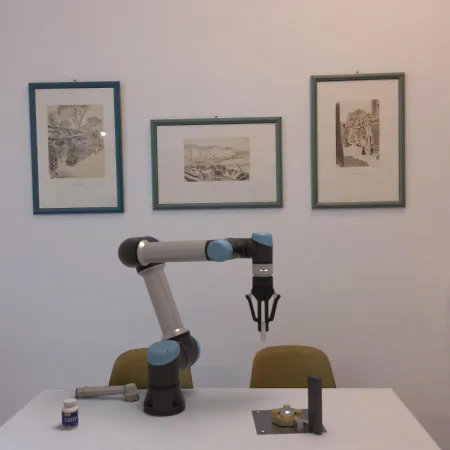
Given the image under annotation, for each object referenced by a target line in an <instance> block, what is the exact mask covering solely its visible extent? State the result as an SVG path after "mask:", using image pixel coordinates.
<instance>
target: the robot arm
mask: <svg viewBox="0 0 450 450" xmlns="http://www.w3.org/2000/svg"><path fill="white" fill-rule="evenodd" d="M273 243H274V242H273V235H272V233H271V232H253V233H251V237H246V238H245V237H224V238H220V239H219V238H218V239H197V240H176V241H175V240H174V241H173V240H172V241H170V240H169V241H161V240H160V239H159V238H158V237H154V236H150V235H147V236H146V235H145V236H136V237H135V236H134V237H128V238H126V239H124V240H123V241H122V242H121V243H120V244H119V246H118V249H117V257H118V260H119V261H120V263H121V264H122V265H124V266H125V267H126V268H131V269H134V268H135V270H136V273H137V275H138V276H140V277H142V278H143V282H144V284H145V287H146V290H147V293H148V296H149V298H150V302H151V304H152V307H153V310H154V312H155V315H156V318H157V322H158V325H159V327H160V330H161V333H162V336H161V338H160V341H156V342H153V343H151V344H150V345H149V347H148V348H147V354H146V360H147V361H146V362H147V363H146V364H147V391H146V393H145V396H144V397H145V398H144V401H143V403H142V404H143V408H142V409H143V412H144V413H145V414H147V415H150V416H155V417H168V416H174V415H177V414H180V413H182V412H183V411H184V410H186V399H185V396H184V393H183V390H182V387H181V373H182V372H183V371H185V370H187V369H189V368H192V367H193V366H194V364H196V363H197V361H198V360H199V359H200V356H201V345H200V342H199V341H198V339H197V338H196V337H194V336H193V335H191V332H190V330H189V328H187V327H185V326H184V323H183V321H182V318H181V316H180V313H179V310H178V307H177V304H176V302H175V299H174V296H173V293H172V289H171V287H170V285H169V281H168V279H167V276H166V273H165V267H166V265H167V264H166V263H193V262H194V263H195V262H199V263H200V262H217V263H222V262H223V263H224V262H227V261H230V260H231V261H233V260H237V259H251V274H252V275H253V276H252V278H251V281H252V282H251V283H252V285H251V286H252V287H251V290H250V292H249V293H247V294H245V295H244V297H245V298H246V300H247V302H248V305H249V306H248V307H249V310H250V313H251V314H250V315H251V318H252V321H253V322H255V323H257V331H258V333H260V341H261V342H266V341H267V339H266V337H267V336H266V335H267V334H266V333H267V332H269V329H270V327H269V324H270V322H273V321H274V319H275V316H276V311H277V307H278V302H279V301H280V299H281V297H282V295H280V293H277V292H276V291H275V288H274V276H273V274H274V261H273V260H274V254H273V253H274V244H273ZM272 297H273V301H272V305H271V310H270V312H269V303H270V302H269V301H270V300H271V299H272ZM253 298H255V300H256V302H257V303H256V305H257V309H256V310H257V312H255V308H254V304H253V301H252V299H253ZM262 302H264V303H262ZM262 304H263V305H264V307H263V309H264V321H262V319H263V318H262ZM256 313H257V317H256ZM269 313H270V314H269Z"/></svg>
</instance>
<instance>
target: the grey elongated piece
mask: <svg viewBox="0 0 450 450" xmlns="http://www.w3.org/2000/svg"><path fill="white" fill-rule="evenodd" d="M74 393H75V399H87V398H97V397H105V396H114V395H122V396H123V398H124V401H125V402H133V401H138V400H139V399H140V394H141V393H140V390H139V389H138V388H137V385H136V383H135V382H134V383H133V382H132V383H127V384H125V385H104V386H97V385H96V386H88V385H85V386H84V387H77V388H75V392H74Z"/></svg>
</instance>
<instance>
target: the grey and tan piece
mask: <svg viewBox="0 0 450 450" xmlns="http://www.w3.org/2000/svg"><path fill="white" fill-rule="evenodd" d="M322 382H323V379H322V377H321V376H317V375H314V374H310V375H307V409H308V421H307V420H304V419H303V414H302V409H303V408H294V407H292V408H293V409H294V410H295V416H292V417H291V414H284V417H283V416H280V409H281V408H286V407H287V408H291V405H290V404H283V405H282V407H278V408H272V409H271V410H272V422H273V423H275V424H278V425H280V426H293V419H295V418H300V419H301V420H302V421H303V427H305V428H308V430H309V431H312V432H314V433H313V434H317V435H320V433H322V432H323V429H322V424H323V392H322V391H323V385H322V384H323V383H322ZM322 434H323V433H322Z"/></svg>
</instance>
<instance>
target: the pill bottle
mask: <svg viewBox="0 0 450 450" xmlns="http://www.w3.org/2000/svg"><path fill="white" fill-rule="evenodd" d="M78 427H79V407H78V405H77V398H71V397H70V398H66V399H64V400H63V407H62V408H61V428H62V430H64V431H71V430H75V429H77V428H78Z"/></svg>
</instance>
